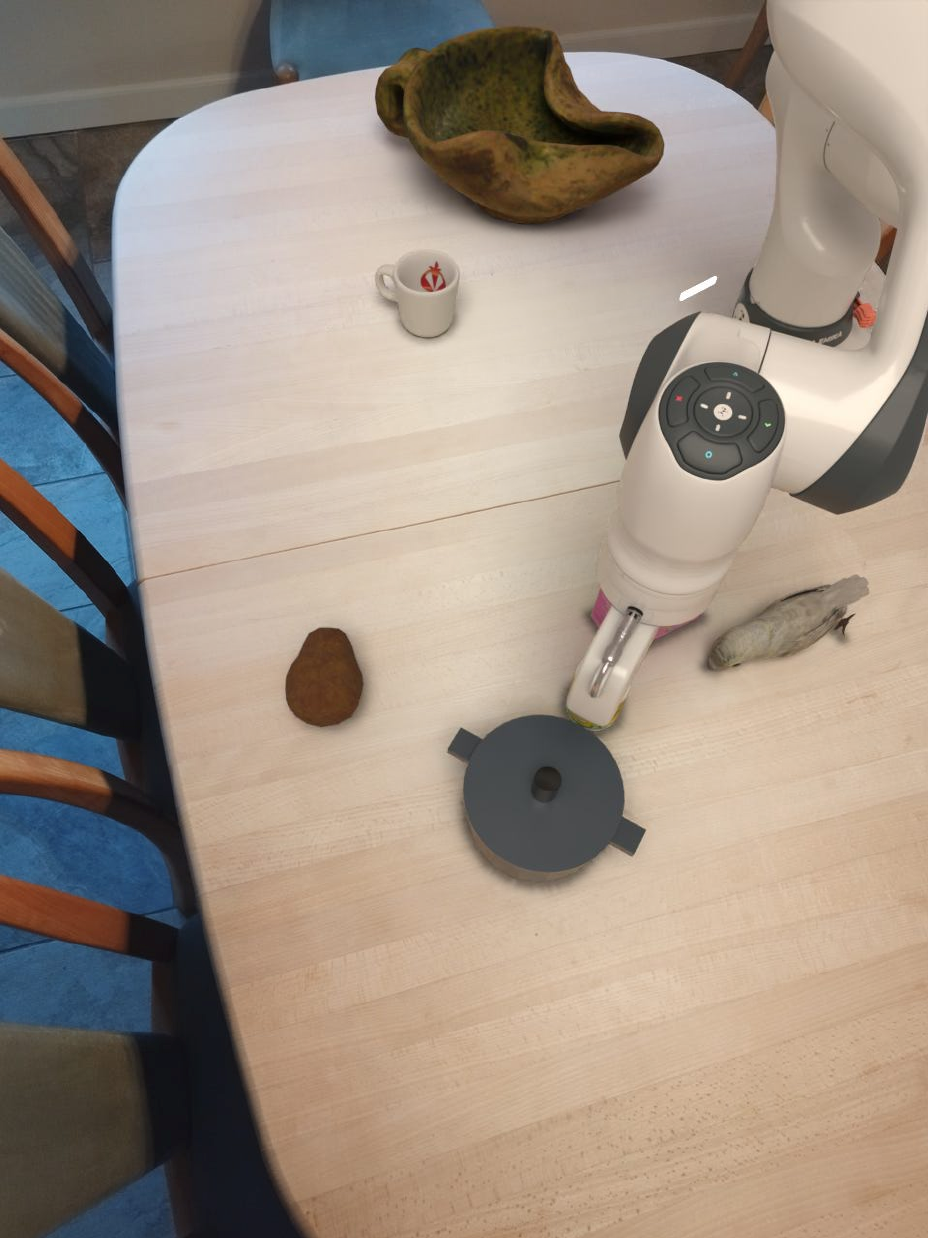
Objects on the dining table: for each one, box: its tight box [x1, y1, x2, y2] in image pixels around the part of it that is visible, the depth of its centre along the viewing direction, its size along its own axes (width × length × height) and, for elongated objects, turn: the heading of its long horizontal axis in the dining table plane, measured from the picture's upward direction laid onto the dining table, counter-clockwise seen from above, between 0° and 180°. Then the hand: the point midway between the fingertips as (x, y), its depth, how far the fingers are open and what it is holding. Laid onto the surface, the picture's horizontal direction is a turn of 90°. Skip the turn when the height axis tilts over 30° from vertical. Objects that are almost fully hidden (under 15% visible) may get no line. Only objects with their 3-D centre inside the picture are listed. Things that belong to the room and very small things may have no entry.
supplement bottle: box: [565, 660, 633, 732], centre depth 82 cm, size 5×5×10 cm
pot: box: [446, 727, 647, 883], centre depth 77 cm, size 13×18×8 cm
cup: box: [374, 248, 461, 338], centre depth 107 cm, size 11×8×8 cm
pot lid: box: [462, 714, 625, 874], centre depth 72 cm, size 14×14×4 cm
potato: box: [284, 626, 364, 728], centre depth 82 cm, size 7×10×8 cm
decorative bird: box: [708, 574, 870, 672], centre depth 87 cm, size 5×16×8 cm, turn 114°
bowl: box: [374, 25, 665, 225], centre depth 119 cm, size 39×29×15 cm
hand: (626, 645), depth 74 cm, fingers open, 8 cm apart
